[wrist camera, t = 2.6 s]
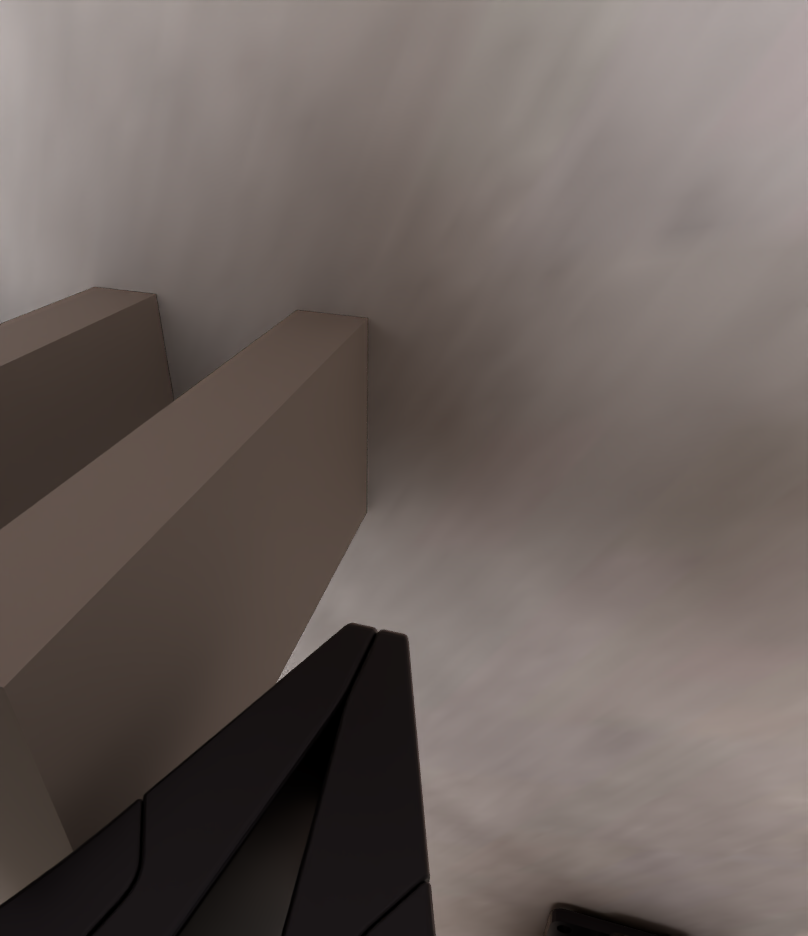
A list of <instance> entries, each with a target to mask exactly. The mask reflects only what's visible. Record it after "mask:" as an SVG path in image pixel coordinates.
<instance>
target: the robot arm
mask: <svg viewBox="0 0 808 936" xmlns="http://www.w3.org/2000/svg"><path fill="white" fill-rule="evenodd" d="M429 879H430V873H429V862H428V851H427V840H426V829H425V818H424V806H423V795H422V784H421V773H420V762H419V751H418V740H417V729H416V718H415V707H414V696H413V684H412V673H411V662H410V651H409V641H408V637H407V635H405V634H402V633H398V632H393V631H388V630H380V631H379V632H378V631H377V629H376V628H374V627H370V626H365V625H361V624H356V623H350V624H347V625H346V626H344V627H343V628H342V629H341V630H339V631H338V632H337V633H336V634H335V635H334V636H332V637H331V638H330V639H329V640H328V641H326V642H325V643H324V644H323V645H322V646H320V647H319V648H318V649H317V650H316V651H314V652H313V653H312V654H311V655H310V656H308V657H307V658H306V659H305V660H304V661H302V662H301V663H300V664H299V665H298V666H296V667H295V668H294V669H293V670H292V671H290V672H289V673H288V674H287V675H286V676H284V677H283V678H282V679H281V680H280V681H278V682H277V683H276V684H275V685H274V686H273V687H271V688H270V689H269V690H268V691H267V692H265V693H264V694H263V695H262V696H261V697H259V698H258V699H257V700H256V701H255V702H253V703H252V704H251V705H250V706H249V707H247V708H246V709H245V710H244V711H243V712H241V713H240V714H239V715H238V716H237V717H235V718H234V719H233V720H232V721H231V722H229V723H228V724H227V725H226V726H225V727H223V728H222V729H221V730H220V731H219V732H217V733H216V734H215V735H214V736H213V737H211V738H210V739H209V740H208V741H207V742H206V743H204V744H203V745H202V746H201V747H200V748H198V749H197V750H196V751H195V752H194V753H192V754H191V755H190V756H189V757H188V758H186V759H185V760H184V761H183V762H182V763H180V764H179V765H178V766H177V767H176V768H174V769H173V770H172V771H171V772H170V773H168V774H167V775H166V776H165V777H164V778H162V779H161V780H160V781H159V782H158V783H156V784H155V785H154V786H153V787H152V788H150V789H149V790H148V791H147V792H146V793H145V794H144V796H143V800H142V799H137V800H136V801H134V802H133V803H132V804H131V805H130V806H129V807H127V808H126V809H125V810H124V811H123V812H121V813H120V814H119V815H118V816H117V817H115V818H114V819H113V820H112V821H111V822H109V823H108V824H107V825H106V826H104V827H103V828H102V829H101V830H99V831H98V832H97V833H96V834H94V835H93V836H92V837H91V838H89V839H88V840H87V841H86V842H84V843H83V844H82V845H81V846H79V847H78V848H77V849H76V850H74V851H73V852H72V853H70V854H69V855H68V856H67V857H65V858H64V859H63V860H61V861H60V862H59V863H57V864H56V865H54V866H53V867H52V868H50V869H49V870H48V871H46V872H45V873H44V874H42V875H41V876H39V877H38V878H37V879H35V880H34V881H33V882H31V883H30V884H28V885H27V886H26V887H24V888H23V889H22V890H20V891H19V892H18V893H16V894H15V895H13V896H12V897H11V898H9V899H8V900H6V901H5V902H3V903H2V904H1V905H0V936H436V933H435V924H434V914H433V903H432V891H431V885H430V883H429ZM543 936H658V935H654V934H651V933H647V932H644V931H640V930H637V929H633V928H630V927H626V926H622V925H619V924H615V923H612V922H608V921H605V920H601V919H598V918H594V917H591V916H587V915H583V914H580V913H576V912H573V911H569V910H565V909H555V910H552V911H551V913H550V916H549V919H548V922H547V925H546V929H545V932H544V935H543Z"/></svg>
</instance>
